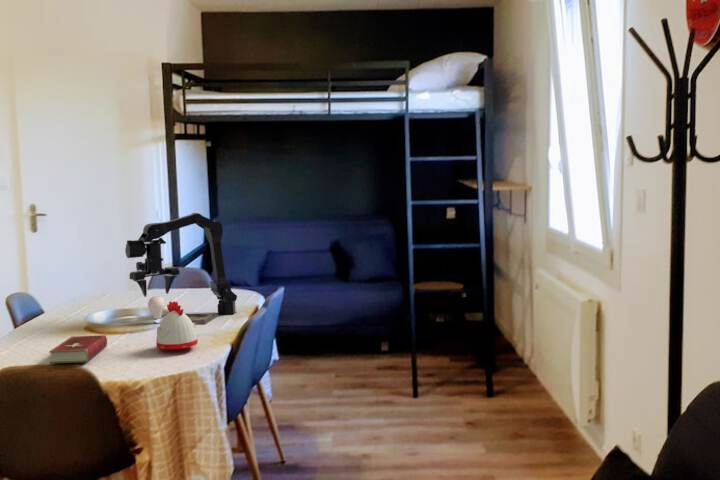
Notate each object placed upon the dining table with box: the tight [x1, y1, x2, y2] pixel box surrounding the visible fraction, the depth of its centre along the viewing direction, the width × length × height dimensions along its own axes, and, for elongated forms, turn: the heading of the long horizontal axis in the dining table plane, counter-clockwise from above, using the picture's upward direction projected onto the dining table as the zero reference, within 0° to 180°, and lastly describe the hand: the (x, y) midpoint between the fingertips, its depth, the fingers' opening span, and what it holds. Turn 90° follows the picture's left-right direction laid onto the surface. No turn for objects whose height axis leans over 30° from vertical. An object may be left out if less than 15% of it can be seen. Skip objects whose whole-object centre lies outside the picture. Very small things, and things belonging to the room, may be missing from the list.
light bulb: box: [147, 295, 166, 321], centre depth 288 cm, size 7×7×11 cm
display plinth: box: [185, 313, 218, 325], centre depth 293 cm, size 14×14×2 cm
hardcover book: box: [49, 334, 108, 364], centre depth 244 cm, size 12×21×4 cm, turn 3°
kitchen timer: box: [155, 300, 198, 350], centre depth 253 cm, size 14×14×15 cm
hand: (156, 295), depth 288 cm, fingers open, 9 cm apart
